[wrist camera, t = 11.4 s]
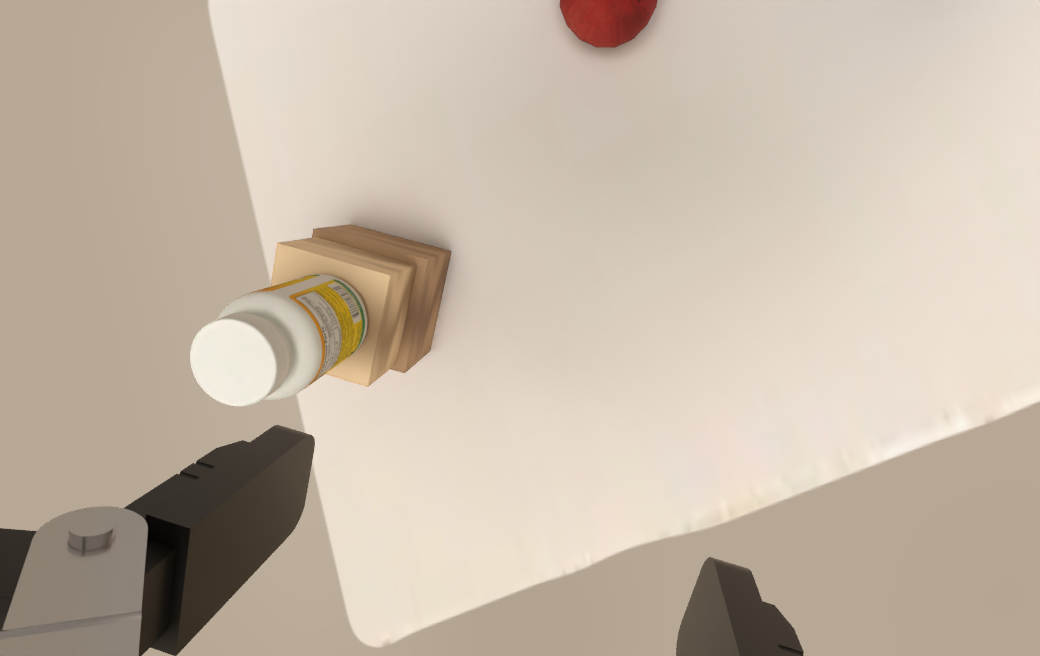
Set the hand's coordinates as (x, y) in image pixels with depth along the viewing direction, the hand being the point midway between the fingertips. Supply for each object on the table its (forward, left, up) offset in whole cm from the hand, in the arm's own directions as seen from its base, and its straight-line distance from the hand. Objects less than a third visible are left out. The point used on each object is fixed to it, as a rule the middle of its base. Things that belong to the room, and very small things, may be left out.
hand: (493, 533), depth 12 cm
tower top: (+4, -14, -27) cm, 31 cm away
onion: (-18, -3, -33) cm, 38 cm away
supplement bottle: (+4, -14, -22) cm, 26 cm away
